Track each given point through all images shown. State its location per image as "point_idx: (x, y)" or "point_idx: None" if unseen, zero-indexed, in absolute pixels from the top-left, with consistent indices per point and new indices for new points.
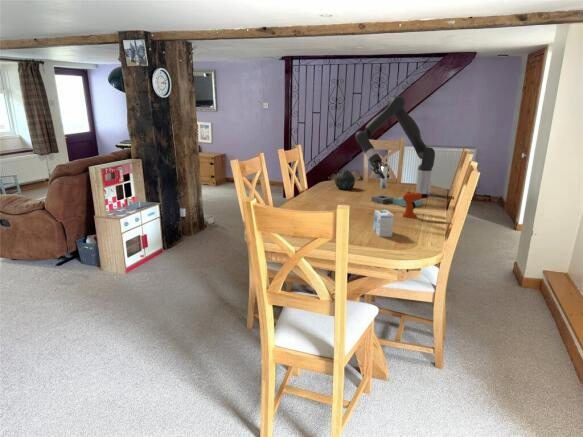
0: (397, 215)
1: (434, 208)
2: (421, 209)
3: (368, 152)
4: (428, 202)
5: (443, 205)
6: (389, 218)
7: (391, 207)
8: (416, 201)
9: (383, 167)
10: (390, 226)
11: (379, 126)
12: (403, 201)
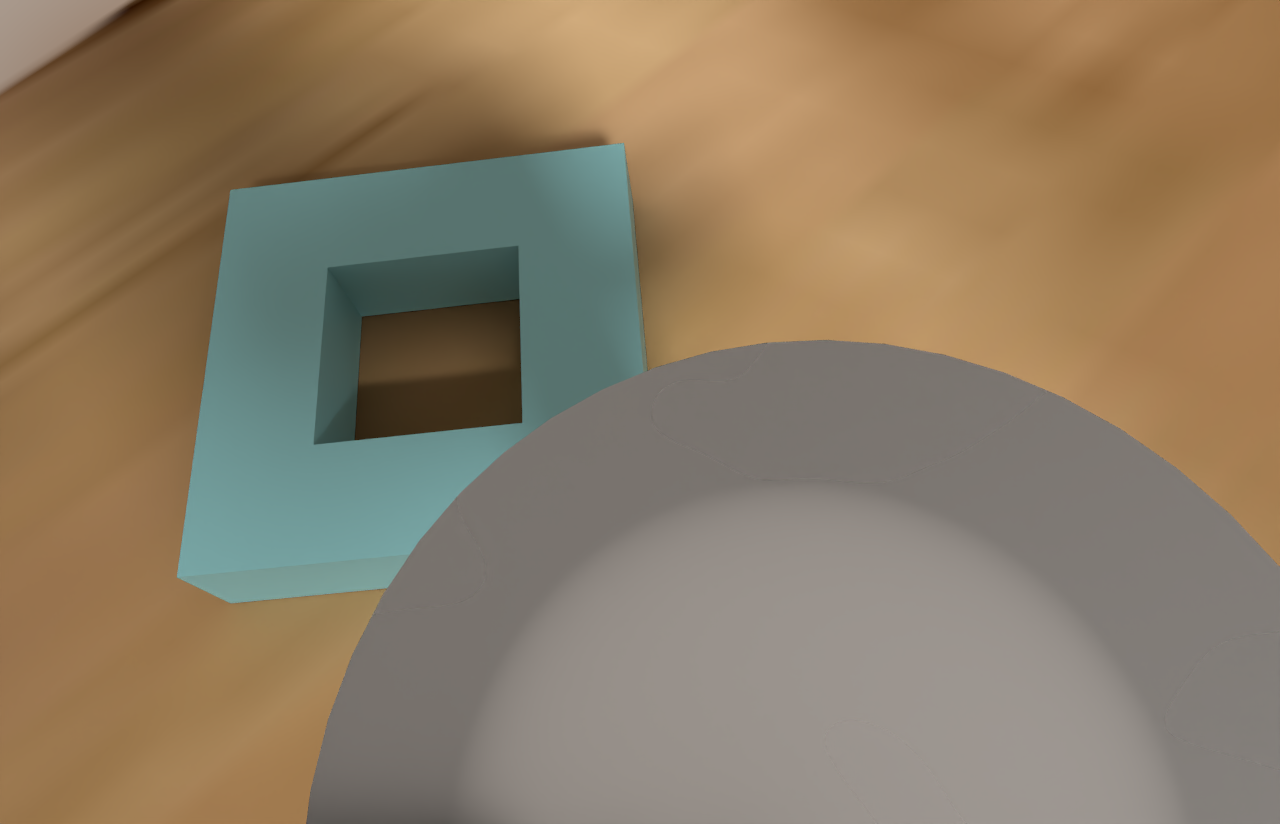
0: None
1: (324, 37)
2: (544, 64)
3: None
4: (6, 326)
5: (38, 102)
6: None
7: (914, 340)
8: (410, 173)
9: (1268, 590)
10: None
11: None
12: (628, 268)
